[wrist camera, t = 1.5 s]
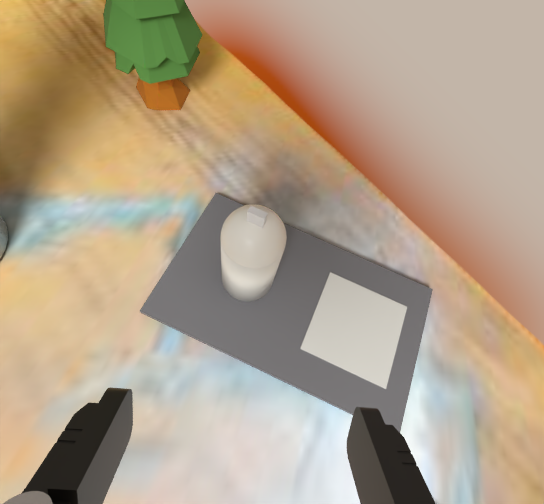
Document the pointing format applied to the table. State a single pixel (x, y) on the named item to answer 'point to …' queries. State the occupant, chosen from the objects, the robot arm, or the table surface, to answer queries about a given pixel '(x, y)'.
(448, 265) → the table surface
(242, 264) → the white rounded cylinder
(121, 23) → the decorative tree
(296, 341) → the mat
